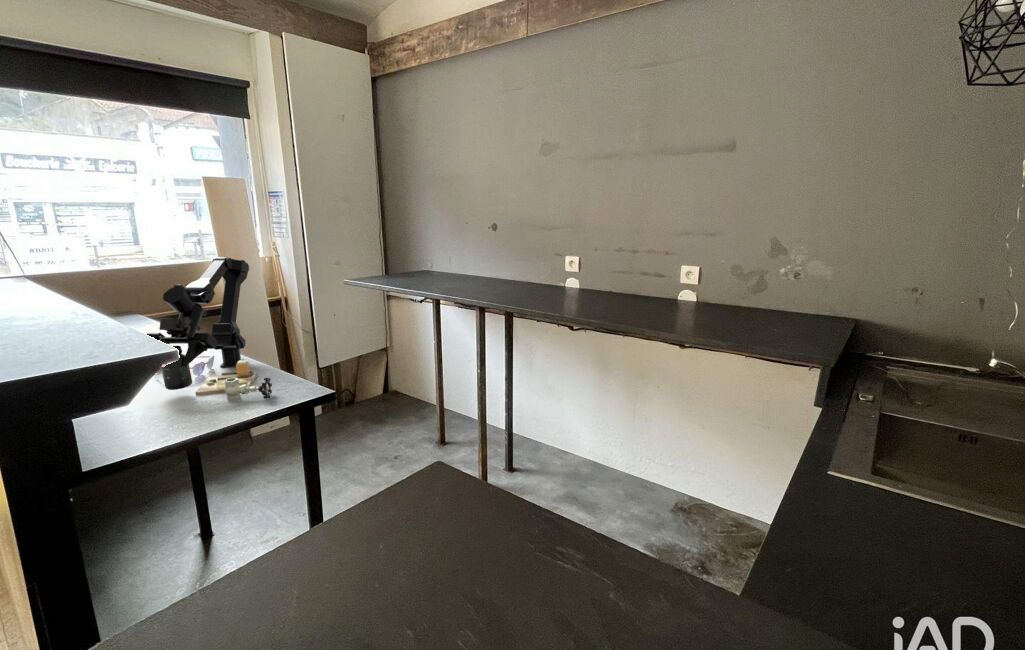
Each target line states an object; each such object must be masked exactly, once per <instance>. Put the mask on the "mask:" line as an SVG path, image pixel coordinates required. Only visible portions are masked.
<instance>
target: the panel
mask: <svg viewBox="0 0 1025 650" xmlns="http://www.w3.org/2000/svg"><path fill="white" fill-rule="evenodd" d="M256 376H257V377H258V372H257V371H253V370H250V373H249V375H244V376H237V371H228V372H222V373H221V374H217V375H216V374H215V375H210V376H208V377H207V379H206V380H205V381H204V382H203V383H202V384H201V385H200V387H198V389H197V390H196V391H195V393H194V394H195V396H196V397H198V396H199V397H200V396H208V395H209V396H211V395H221V394H225V387H226V386H225V380H226V379H228V378H238V380H239V385H240V386H242V385H243V384H247V386H249V387H251V386H252V385H251V384H253V383H254V381H255V380H256V378H257V377H256ZM255 377H256V378H255ZM254 379H255V380H254ZM252 382H253V383H252ZM250 385H251V386H250Z"/></svg>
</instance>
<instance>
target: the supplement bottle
mask: <svg viewBox="0 0 1025 650" xmlns="http://www.w3.org/2000/svg"><path fill="white" fill-rule="evenodd" d="M172 346H173V347H175V348H177V349H178V350H179V355H180V358H179V360H178V361H176V362H173V363H171V364H168V365H166V366H165V367H164V368H162V369H161V368H160V370H161V374H162V379H163V383H164V387H165V389H167V390H169V391H176V390H182V389H185V388H189V387H190V386H192V385H193V377H192V373H191V369H190V363H189V364H188V365H187V366H186V367H184V366H183V361H184V358H185V355H186V354H184V353H183V349H182V346H181V345H172Z"/></svg>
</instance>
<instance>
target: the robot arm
mask: <svg viewBox="0 0 1025 650" xmlns="http://www.w3.org/2000/svg"><path fill="white" fill-rule="evenodd" d="M249 271H250V265H249V263H248V262H247V261H246V260H245V259H234V258H231V257H229V256H217V257H214V258H212V262H211V264H210V265H209V267H208V268H207V269H206V270H205V271H204V273H203V274H202V275H201V276H200V277H199V279H197V280H195V281H192V282H190V283H189V284H187V286H185V287H184V285H182V284H174V285H173V287H171V288H169V289H168V290H166V291H165V292H164V293H163V295H162V300H163V301H164V302H165V303H167V305H168V306H170V307H171V309H173V310H174V311H175V312H177V313H179V315H178V318H160V321H159V330H160V331H166V334H167V335H169V336H165V335H164V334H162V332H148V333H146V334H147V335H149V336H151V337H154V338H155V339H157V340H160V341H162V342H164V343H166V344H169V345H171V344H175V345H176V344H179V345H180V344H181V345H182V344H185V345H187V350H186V353H185V354H184V355H185V358H184V361H183V366H184V367H186V366H187V365H188V364H189V365H190V364H191V363H192V362H193V360H195V359H196V358H197V357H199V356H200V355H202V353H204V352H207V351H208V350H216V351H217V350H221V357H222V363H221V364H220V367H219V368H230V367H236V364H237V362H238V361H240V360H245V359H242V357H241V349H245V347H246V339H245V338H244V337H243V336H242V335H241V330H240V328H239V326H238V324H237V315H238V308H239V302H240V301H239V300H240V291H241V285H242V284H243V283H244V282H245V280H246V279H247V278H248V273H249ZM222 278H223V280H224V289H223V297H222V303H221V312H220V319H219V321H218V322H216V323H213V324H212V330H211V334H210V333H209V332H200V331H201V327H200V326H199V325H200V323H201V320H202V317H203V316H207V315H208V313H207V310H206V309H205V306H202V305H201V304H210V303H211V302H212V301H213V298H214V296H215V295H216V292H215V288H216V286H217V285H218V283H219V282H220V281H221V279H222ZM197 331H198V332H197Z"/></svg>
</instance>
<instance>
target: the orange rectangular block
mask: <svg viewBox="0 0 1025 650" xmlns="http://www.w3.org/2000/svg"><path fill="white" fill-rule="evenodd" d="M249 364H250V363H249V360H247V359H244V360H243V359H241V360H240V361H238V362H237V364H236V366H235V367H236V372H237V376H244V375H249V373H250V371H251V370H250V366H249Z"/></svg>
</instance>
